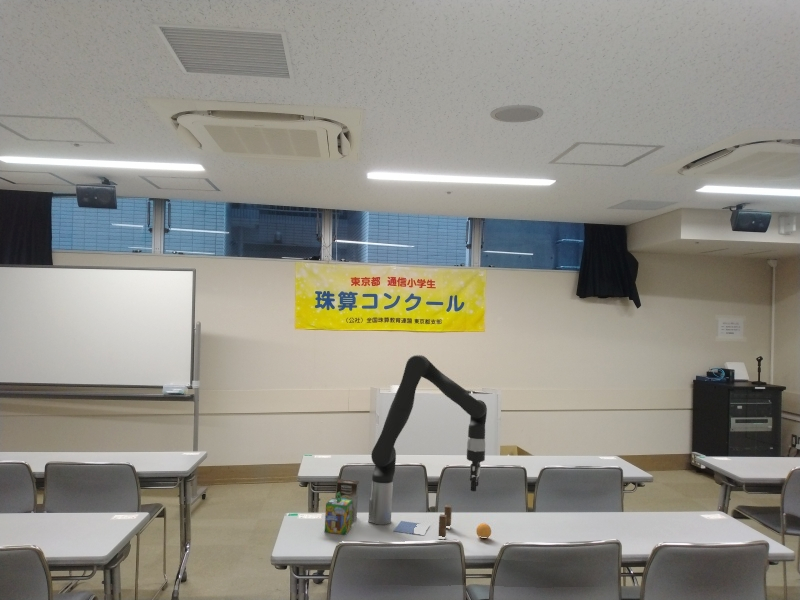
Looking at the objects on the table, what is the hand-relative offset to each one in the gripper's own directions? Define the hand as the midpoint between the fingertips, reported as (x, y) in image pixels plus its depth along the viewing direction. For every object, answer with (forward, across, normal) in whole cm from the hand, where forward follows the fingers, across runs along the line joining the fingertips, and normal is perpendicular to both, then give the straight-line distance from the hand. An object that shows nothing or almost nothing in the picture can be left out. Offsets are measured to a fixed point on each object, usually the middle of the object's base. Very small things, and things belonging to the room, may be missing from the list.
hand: (474, 488), depth 212 cm
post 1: (+19, +8, -12) cm, 24 cm away
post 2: (+19, -5, -11) cm, 23 cm away
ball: (+16, +1, +5) cm, 17 cm away
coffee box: (+20, +1, -55) cm, 59 cm away
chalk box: (+20, +15, -54) cm, 59 cm away
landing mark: (+19, +1, -25) cm, 32 cm away
